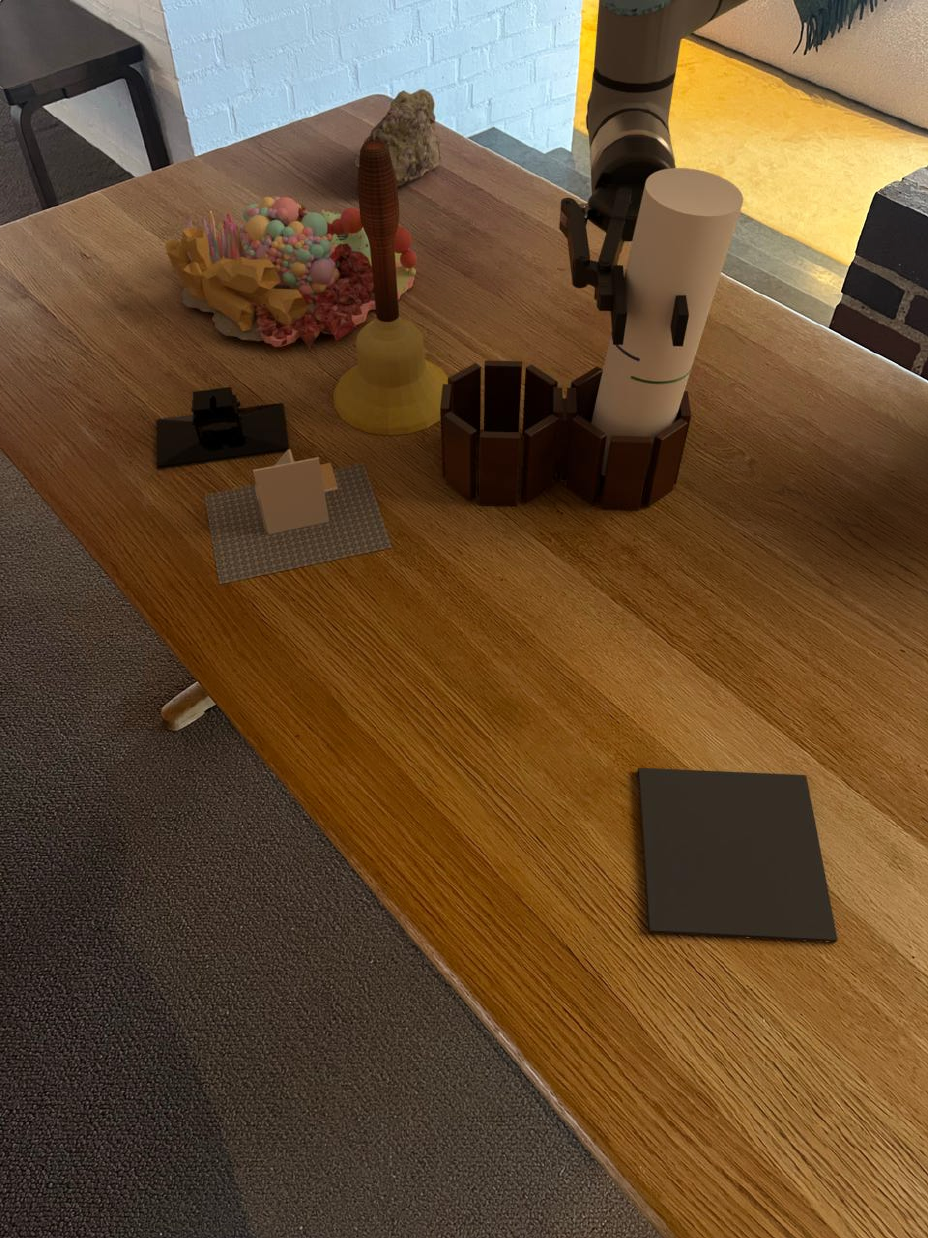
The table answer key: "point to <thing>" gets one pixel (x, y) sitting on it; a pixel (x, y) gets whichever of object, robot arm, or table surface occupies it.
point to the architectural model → (294, 519)
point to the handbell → (386, 324)
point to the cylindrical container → (665, 299)
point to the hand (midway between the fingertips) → (650, 329)
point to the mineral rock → (409, 135)
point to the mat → (732, 856)
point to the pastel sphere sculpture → (284, 272)
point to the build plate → (220, 431)
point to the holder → (548, 440)
